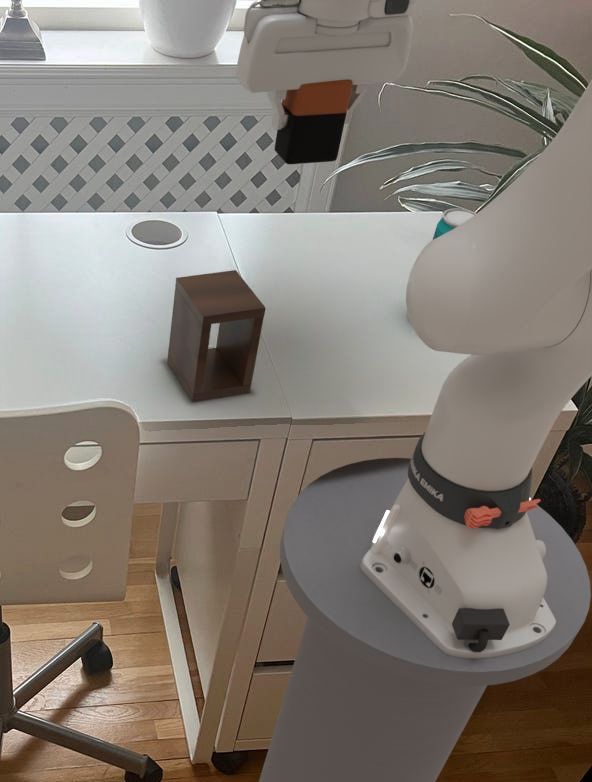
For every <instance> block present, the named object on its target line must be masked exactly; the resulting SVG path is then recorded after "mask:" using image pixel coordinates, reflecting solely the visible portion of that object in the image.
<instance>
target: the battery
mask: <svg viewBox="0 0 592 782" xmlns="http://www.w3.org/2000/svg"><path fill="white" fill-rule="evenodd" d="M352 85H353V82H352V80H337V81H326V82H317V83H308V84H302V85H301V86H300V88H299V89H296V90H287V93H286V99H285V100H281V103H282V106H283V109H286V110H287V112H289V113H290V114H291V116H290V121H289V127H288V129H282V130H276V135H275V136H276V137H275V143H274V151H275V153H276V154H277V155H278V156H279V157H280V158H281V160H282V161H283V162H284V163H285V164H286V165H300V164H301V165H304V164H315V163H317V164H318V163H329V162H335V161H337V160H338V156H339V152H340V146H341V142H342V137H343V134H344V133H343V132H344V128H345V124H344V123H345V118H346V114H347V109H348V104H349V99H350V95H351V90H352Z"/></svg>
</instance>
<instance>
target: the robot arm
mask: <svg viewBox="0 0 592 782" xmlns="http://www.w3.org/2000/svg"><path fill="white" fill-rule="evenodd" d="M417 4H418V0H255V1H254V2H252V3H251V5H250V6H249V7H247V10H246V12H245V17H244V23H243V37H242V41H241V45H240V48H239V53H238V58H237V63H236V69H235V77H236V78H237V80H238V83H240V85H241V86H242V87H243V88H244V89H245V90H246V91H248V92H249V93H251V94H257V93H258V94H259V93H266V95H267V98H268V100H269V103H270V105H271V108H272V111H273V112H272V118H271V125H272V128H273V129H274V130H276V131H277V130H282V129H288V127H289V121H290V116H291V114H290V113H289V112H287V110H286V109H283V106H282V100H285V99H286V93H287V90H296V89H299V88H300V86H301V85H302V84H308V83H317V82H326V81H337V80H352V82H353V85H352V90H351V95H350V99H349V104H348V109H347V114H346V118H345V123H344V125H348V124H351V122H352V118H353V114H354V110H355V109H356V108H357V107H358V105H359V104H360V102H361V101H362V99H363V98H365V95H366V94H367V90H368V85H372V84H384V83H385V84H386V83H396V82H397V81H398V80H399V79H400V78H401V76H402V75H403V74H404V73H405V71H406V68H407V66H408V62H409V61H408V60H409V57H410V51H411V46H412V42H413V36H414V35H413V33H414V22H413V20H412V17H411V16H410V15H412V14H413V13H414V11H415V9H416V7H417ZM476 213H477V214H475V215H474V216H473V217H471V218H470V219H469V220H467V221H465V222H464V223H462V224H461V225H459V226H458V227H456V228H454V229H453V230H451V231H449V232H447V233H445V234H443V235H442V236H440V237H438V238H436V239H434V240H433V239H432V240H430V241H429V242H428V243H426V245H425V246H424V247H423V248H422V249H421V251H420V253H419V254H418V256H417V257H416V258H415V261H414V263H413V264H412V267H411V269H410V272H409V275H408V279H407V283H406V291H405V304H406V305H405V306H406V311H407V315H408V319H409V322H410V324H411V327H412V328H413V330H414V332H415V333H416V336H417V337H418V338H419V339H420V341H421V342H422V343H423V344H424V345H425V346H426V347H427V348H429V349H431V350H433V351H435V352H443V353H451V354H459V355H469V356H467V357H466V358H465V359H463V360H462V361H460V362H459V363H458V364H457V365H456V366H455V367H454V368H453V369H452V370H451V371H450V372H449V374H448V375H447V377H446V378H445V380H444V382H443V383H442V385H441V388H440V390H439V394H438V396H437V399H436V402H435V405H434V407H433V410H432V413H431V415H430V419H429V422H428V424H427V427H426V430H425V432H423V433H422V434H421V436H420V437H419V438H418V441H417V444H416V446H415V448H414V449H413V451H412V453H411V457H410V458H411V461H410V464H409V467H408V478H407V480H406V482H405V484H404V486H403V488H402V490H401V491H400V493H399V495H398V497H397V498H396V500H395V502H394V504H393V506H392V508H391V510H390V511H388V510H387V511H386V513H385V515H384V518H383V520H382V522H381V524H380V525H379V526H378V527H377V529H376V530H375V532H374V534H373V537H372V543H371V548H370V550H369V551H368V552H367V553H366V554H365V556H364V557H363V559H362V561H361V563H360V569H361V570H362V572H363V573H364V574H365V575H366V576H367V577H368V578H369V579H370V580H371V581H372V582H373V583H374V584H375V585H376V586H377V587H378V588H379V589H380V590H381V591H382V592H383V593H384V594H385V595H386V596H387V597H388V598H389V599H390V600H391V601H392V602H393V603H394V604H395V605H396V606H397V607H398V608H399V609H400V610H401V611H402V612H403V613H404V614H405V615H406V616H407V617H408V618H409V619H410V620H411V621H412V622H413V623H414V624H415V625H416V626H417V627H418V628H419V629H420V630H421V631H422V632H423V633H424V634H425V635H426V636H427V637H428V638H429V639H430V640H431V641H432V642H433V643H434V644H435V645H436V646H437V647H438V648H439V649H440V650H441V651H443V652H444V653H445V654H447V655H451V656H455V657H461V658H476V659H479V658H491V657H498V656H503V655H508V654H512V653H515V652H519V651H522V650H525V649H528V648H530V647H533V646H535V645H537V644H539V643H540V642H542V641H543V640H545V639H546V638H547V637H548V636H549V635H550V634H551V632H552V631H553V629H554V627H555V624H556V620H555V618H554V616H553V614H552V612H551V610H550V608H549V607H548V605H547V603H546V601H545V599H544V598H543V596H544V593H545V590H546V585H547V573H546V570H545V567H544V564H543V561H542V560H543V559H544V558H545V556H546V546H545V544H544V542H543V541H540V540H536V539H535V536H534V532H533V529H532V526H531V523H530V520H529V517H528V514H527V511H529V510H532V509H535V508H537V507H538V506H539V505H538V504H539V503H540V502H541V500H542V499H540V498H536V499H532V498H531V490H532V489H531V488H532V481H533V465H534V463H535V462H536V459H537V458H538V455H539V453H540V451H541V449H542V447H543V445H544V443H545V441H546V439H547V438H548V436H549V433H550V432H551V430H552V429H553V426H554V424H555V422H556V420H557V419H558V417H559V415H560V414H561V413H562V411H563V410H564V408H565V407H566V406H567V404H568V403H569V402H570V401H571V400H572V398H573V397H574V396H575V395H576V394H577V393H578V391H579V390H580V389H581V388H582V387H583V386H584V385H585V384H586V383H587V382H588V380H589V379H590V378H591V377H592V79H590V82H589V83H588V84H587V86H586V88H585V90H584V91H583V92H582V95H581V96H580V97H579V99H578V101H577V102H576V104H575V106H574V108H573V109H572V110H571V112H570V114H569V115H568V117H567V119H566V120H565V122H564V123H563V125H562V126H561V128H560V129H559V131H558V132H557V134H556V135H555V136H554V138H553V139H552V140H551V141H550V142H549V143H548V145H547V146H546V147H545V149H543V151H542V152H541V153H540V154H539V155H538V156H537V158H535V160H534V161H532V162H531V164H530V165H529V166H527V167H526V169H524V170H523V172H521V174H519V176H517V177H516V178H515V179H514V180H513V181H512V182H511V183H510V184H509V185H508V186H507V187H506V188H504V190H503V191H502V192H500V193H499V194H498V195H497V196H496V197H495V198H494V199H493V200H492V201H491V202H489V203H488V204H486V205H485V206H484V207H483V208H482V209H481V210H479V211H478V212H476ZM530 500H531V501H530ZM535 504H537V505H538V506H533V505H535ZM536 632H537V633H536Z"/></svg>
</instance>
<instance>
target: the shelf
mask: <svg viewBox="0 0 592 782" xmlns="http://www.w3.org/2000/svg"><path fill="white" fill-rule="evenodd" d="M266 309H267V308H266V306H265V305H264V304H263V302H262V301H261V300H260V299H259V297H258V296H257V295H256V293H255V292H254V291H253V289H252V288H251V287H250V286H249V284H248V283H247V282H246V281H245V280H244V278H243V277H242V276H241V274H240V273H239V272H238V270H236V269H233V270H226V271H218V272H210V273H203V274H194V275H187V276H180V277H176V278H175V285H174V296H173V304H172V315H171V321H170V322H171V323H170V332H169V342H168V352H167V359H166V360H167V361H166V364H167V365H168V366H169V368H170V369H171V370H172V373H173V374H174V376H175V377H176V379H177V380H178V382H179V383H180V385H181V387H182V388H183V390H184V391H185V393H186V395H187V396H188V398H189V399H190V401H191V402H192V403H195V402H201V401H208V400H213V399H219V398H225V397H226V398H227V397H231V396H232V397H233V396H238V395H244V394H250V393H251V390H252V383H253V377H254V373H255V366H256V361H257V357H258V350H259V345H260V339H261V335H262V331H263V324H264V318H265V314H266ZM217 324H219V325H218V332H217V339H216V345H215V347H210V348H209V344H210V337H211V331H212V325H217Z"/></svg>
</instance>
